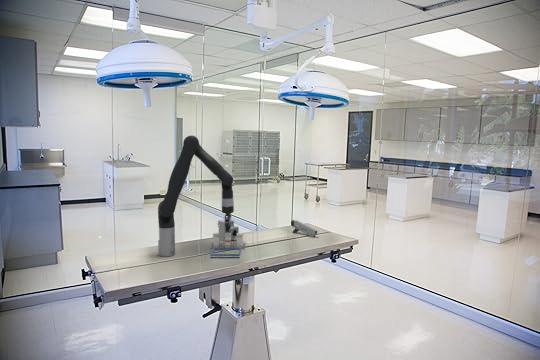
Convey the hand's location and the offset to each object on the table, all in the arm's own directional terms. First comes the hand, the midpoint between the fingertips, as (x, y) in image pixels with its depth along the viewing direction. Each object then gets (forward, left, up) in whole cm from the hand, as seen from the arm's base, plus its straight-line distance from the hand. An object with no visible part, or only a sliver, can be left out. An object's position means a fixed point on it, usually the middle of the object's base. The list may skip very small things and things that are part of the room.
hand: (228, 230), depth 226 cm
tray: (0, -12, -13) cm, 17 cm away
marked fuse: (0, 0, -11) cm, 11 cm away
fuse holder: (0, 0, -13) cm, 13 cm away
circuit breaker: (-1, +16, -13) cm, 21 cm away
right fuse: (+7, 0, -11) cm, 13 cm away
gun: (+53, +38, -13) cm, 67 cm away
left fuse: (-8, 0, -11) cm, 14 cm away
